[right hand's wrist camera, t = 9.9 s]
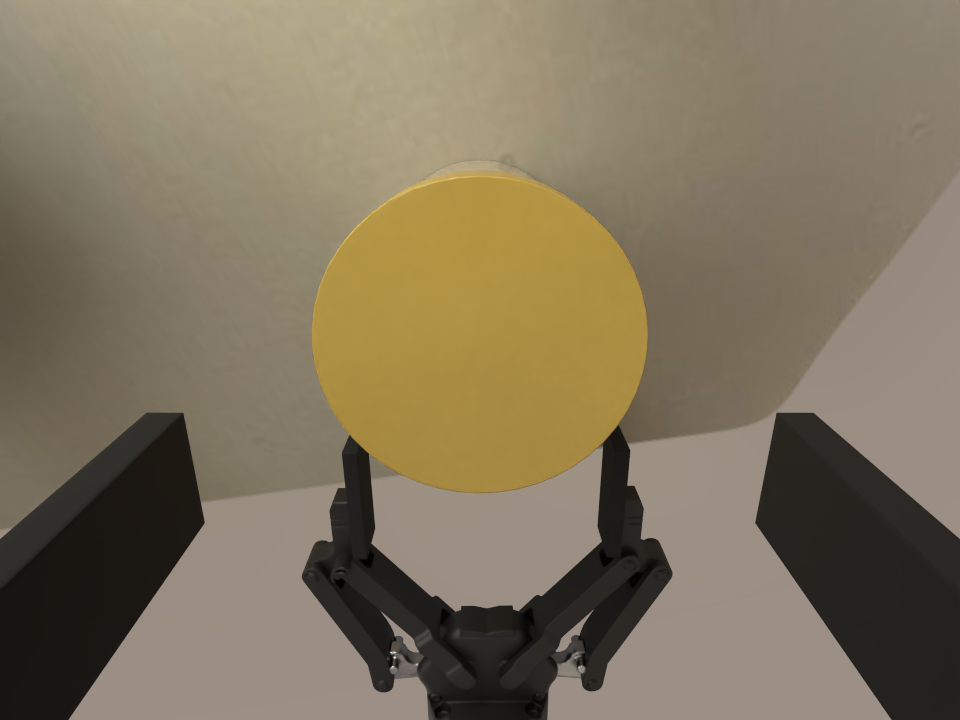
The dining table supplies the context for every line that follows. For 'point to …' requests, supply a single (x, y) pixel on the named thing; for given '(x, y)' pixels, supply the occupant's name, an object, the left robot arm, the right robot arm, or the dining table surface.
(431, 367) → the lid
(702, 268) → the dining table surface
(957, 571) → the right robot arm
